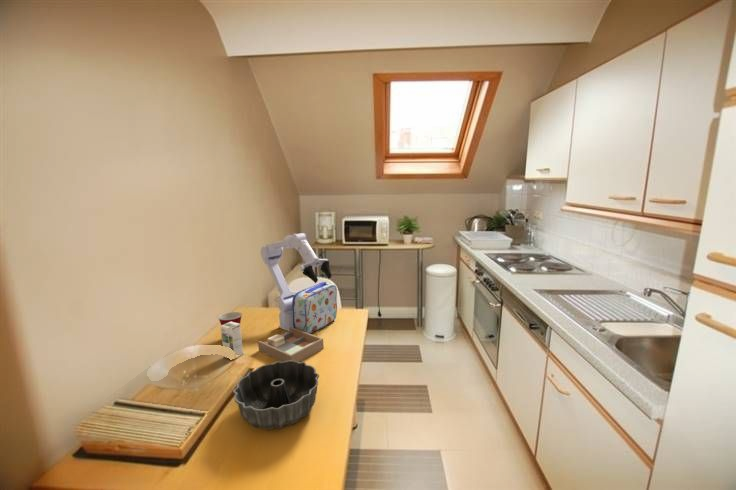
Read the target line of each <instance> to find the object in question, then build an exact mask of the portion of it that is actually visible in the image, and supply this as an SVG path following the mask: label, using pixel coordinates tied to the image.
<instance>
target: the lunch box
mask: <svg viewBox="0 0 736 490" xmlns="http://www.w3.org/2000/svg"><path fill="white" fill-rule="evenodd" d="M337 290H338V289H337V287H336V285H335V284H332V283H327V281H322V282H319V283H317V284H315V285H313V286H310V287H307V288H304V289H302V290H300V291H298V292H297V293H296V292H295V293H296V294H295V295H294V297H293V300H292V309H293V327H294V328H295V329H298V330H301V331H304V332H306V333H309V334H312V333H314V332H316V331H318V330H320V329H322V328H325V327H326V326H328V325H329V324H331V323H332V322H334V321H335V320H336V318H337V314H338V306H337V304H338V302H337V299H338V298H337V297H338V295H337V294H338V292H337Z"/></svg>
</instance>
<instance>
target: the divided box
mask: <svg viewBox="0 0 736 490" xmlns="http://www.w3.org/2000/svg"><path fill="white" fill-rule="evenodd" d="M279 335H280V336H283V337H284V340H285V343H284V344H282V345H280V346H278V347H276V348H275V347H273V346H270V345H268V340H267V341H265V342H264V341H261V340H257V345H258V351H259V352H260V353H263V354H265V355H267V356H269V357H271V358H273V359H275V360H277V361H278V362H284V361H297V362H299V363H300V362H303V361H304V360H306V359H308V358H309V357H311V356H313V355H314V354H317V353H318V352H319V351H321V350H323V349H325V348H324V347H325V346H324V338H323V337H319V336H316V335H314V334H312V333H310V334H309V333H306V332H304V331H301V330H298V329H295V328H293V327H289V331H286V332H285V333H283V334H279Z"/></svg>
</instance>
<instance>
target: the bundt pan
mask: <svg viewBox="0 0 736 490" xmlns="http://www.w3.org/2000/svg"><path fill="white" fill-rule="evenodd" d="M316 371H317V370H316V368H315V366H313V365H310V364H307V363H306V362H305V361H304V362H303V361H300V362H297V361H284V362H281V361H279V360H277V361H275V362H273V363H267V364H264V365H261V366H258V367H257V368H256V369H254V370H251V371H248V372H247V374H246V375H245V376H243V377H241V378H240V379H239V380H238V381H237V382H236V387H235V388H234V389H233V390H232V394H234V397H233V398H234V402H235V403H236V405H237V406H238V409H239V412H240V415H241V417H242V418H243V420H244V421H246V422H248V424H249V425H250V426H251V427H252V428H259V427H260V428H261V429H264V430H272V429H274V428H275V427H276V428H277V429H282V428H284V426H285V425H288V426H289V425H294V424H295V423H297V422H298V421H300V418H306V416H307V415H308V413H309V411H310V410H311V409H312V408H313V406H314V405H315V402H316V396H317V393H318V385H319V377H320V374H319V373H317V372H316Z"/></svg>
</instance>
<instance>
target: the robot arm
mask: <svg viewBox="0 0 736 490" xmlns="http://www.w3.org/2000/svg"><path fill="white" fill-rule="evenodd" d="M308 241H309V238H308V235H307V234H306V233H305V232H300V233H292V235H291V234H288V235H286V236H284V238H283V240H278V241H275V242H274V241H273V242H271V243H267V244H266V245H263V246H261V249H260V255H261V258H262V260H263V261H262V262H264V264H265V265H266V267H267V268H268V271H269V273H270V275H271V278H272V280H273V283H274V284H275V286H276V288H277V291H278V293H279V297H277V299H276V301H277V304H278V305H277V306H278V309H279V314H278V319H279V326H278V328H280V329H282V330H284V331H286V332H289V327H293V309H292V300H293V297H294V295H295V294H296V291H292V290H290V288H289V286H288V283H287V281H286V279H285V277H284V274H283V272H282V270H281V268H280V266H279V263H280V261H281V260H282V256H283V253H284V248H285V249H288V250H289V249H293V248H294V249H295V250H296V251H297V252H298V253H299V254H300V256H301V258H302V260H303V261H304V263H303V264H301V265H299V268H298V269H299V270H300V272H302V274H303V275H304V276H306V277H308V278H309V279H311V281H312V282H314V284H316V283H317V282H318V281H319V278H318V277H317V275H316V273H315V270H314V268H317V267H319V266H321V267H320V270H321V271H322V272H323V274H324V275H325V276H326V277H327V279H331V278H332V277H333V276H332V272H331V269H330V261H329V260H328V258H319V257H318V256H317V254H316V253H315V252H314V251H315V250H314V249H313V248H312V247H311V245H310V243H309V242H308ZM317 284H318V283H317ZM293 328H294V327H293Z"/></svg>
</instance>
